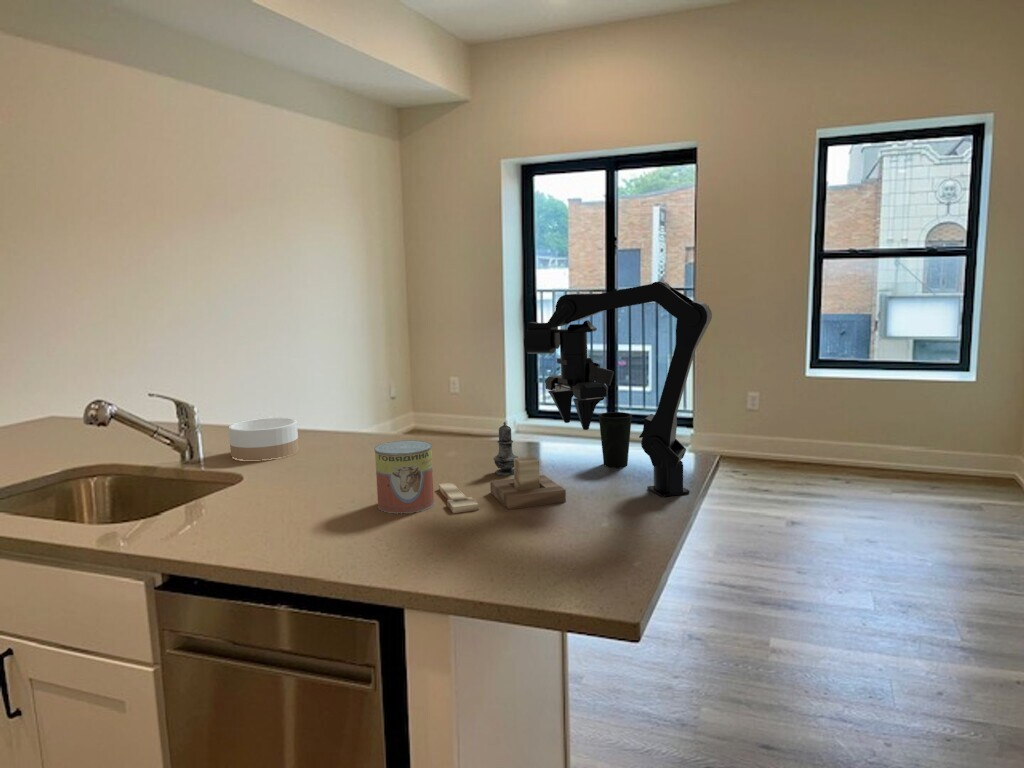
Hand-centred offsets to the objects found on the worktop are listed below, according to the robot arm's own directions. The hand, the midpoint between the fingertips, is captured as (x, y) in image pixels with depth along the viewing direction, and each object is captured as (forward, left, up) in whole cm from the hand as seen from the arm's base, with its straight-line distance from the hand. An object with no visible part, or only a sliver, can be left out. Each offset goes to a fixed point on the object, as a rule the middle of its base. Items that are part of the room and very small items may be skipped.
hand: (576, 426), depth 155 cm
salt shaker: (+15, +11, -13) cm, 23 cm away
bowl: (+60, +64, -13) cm, 89 cm away
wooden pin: (-5, +13, -13) cm, 19 cm away
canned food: (0, +37, -13) cm, 39 cm away
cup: (+11, -15, -13) cm, 23 cm away
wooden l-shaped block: (0, +27, -13) cm, 30 cm away
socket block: (-5, +13, -13) cm, 19 cm away
